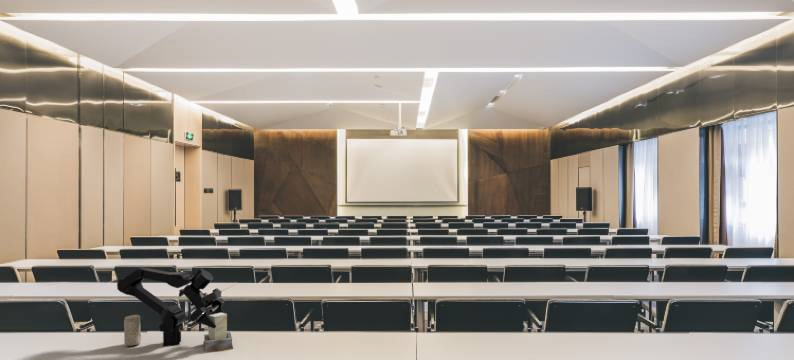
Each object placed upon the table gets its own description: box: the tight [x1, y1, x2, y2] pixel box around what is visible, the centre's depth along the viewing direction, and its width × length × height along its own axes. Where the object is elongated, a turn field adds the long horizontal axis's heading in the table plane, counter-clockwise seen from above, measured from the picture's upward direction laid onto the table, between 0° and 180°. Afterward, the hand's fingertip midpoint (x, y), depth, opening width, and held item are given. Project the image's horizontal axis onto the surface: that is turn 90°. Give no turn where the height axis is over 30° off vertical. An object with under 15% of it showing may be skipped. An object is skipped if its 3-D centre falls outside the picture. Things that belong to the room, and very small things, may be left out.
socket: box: [203, 331, 234, 353], centre depth 214 cm, size 11×11×4 cm
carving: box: [123, 314, 142, 347], centre depth 216 cm, size 6×8×12 cm
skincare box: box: [207, 312, 228, 341], centre depth 214 cm, size 6×4×12 cm
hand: (221, 324), depth 214 cm, fingers open, 9 cm apart
